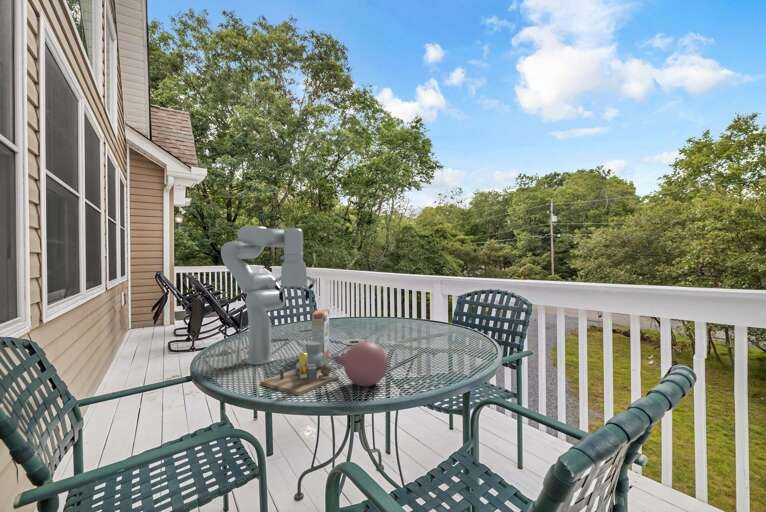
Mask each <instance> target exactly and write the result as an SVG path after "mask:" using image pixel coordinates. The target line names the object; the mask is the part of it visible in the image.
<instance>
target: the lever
mask: <svg viewBox="0 0 766 512" xmlns="http://www.w3.org/2000/svg"><path fill="white" fill-rule="evenodd" d="M298 359H299V360H298V362H297V363H296V365H295V367H296V368H295V369H296V370H299V374H300V378H307V373H308V367H307V364H308V362H307V353H306V351H305V352H299V353H298Z"/></svg>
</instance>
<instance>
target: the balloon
mask: <svg viewBox="0 0 766 512" xmlns="http://www.w3.org/2000/svg"><path fill="white" fill-rule="evenodd" d="M331 360H333V361H334V362H335V363H336V364H338V365H342V366H343V368H344V372H345V374H346V376H347V378H348V379H349V380H350V382H352V383H353V384H355V385H357V386H359V387H370V386H371V387H372V386H374V385H376V384H378V383H379V382H380V381H381V380H382V379H383V378H384V377H385V375H386V372H387V369H388V359H387V354H386V353H385V351H384V350H383V348H382V347H381V346H380V345H378V344H377V343H374V342H372V341H369V340H368V341H364V340H363V341H360V342H356V343H355V344H353V345H352V346H351V347H349V349H348V350H346V351H345V352H343V353H341V354H336V355H334V356H332V357H331Z"/></svg>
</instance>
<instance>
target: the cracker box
mask: <svg viewBox="0 0 766 512" xmlns="http://www.w3.org/2000/svg"><path fill="white" fill-rule="evenodd" d="M311 342H319V343H320V352H321V353H323V354H325V356H326V357H328V354H329V353H330V310H329V309H327V308H325V309H324V308H322V309H317V310H315V311H314V312H313V313H312V314H311Z"/></svg>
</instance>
